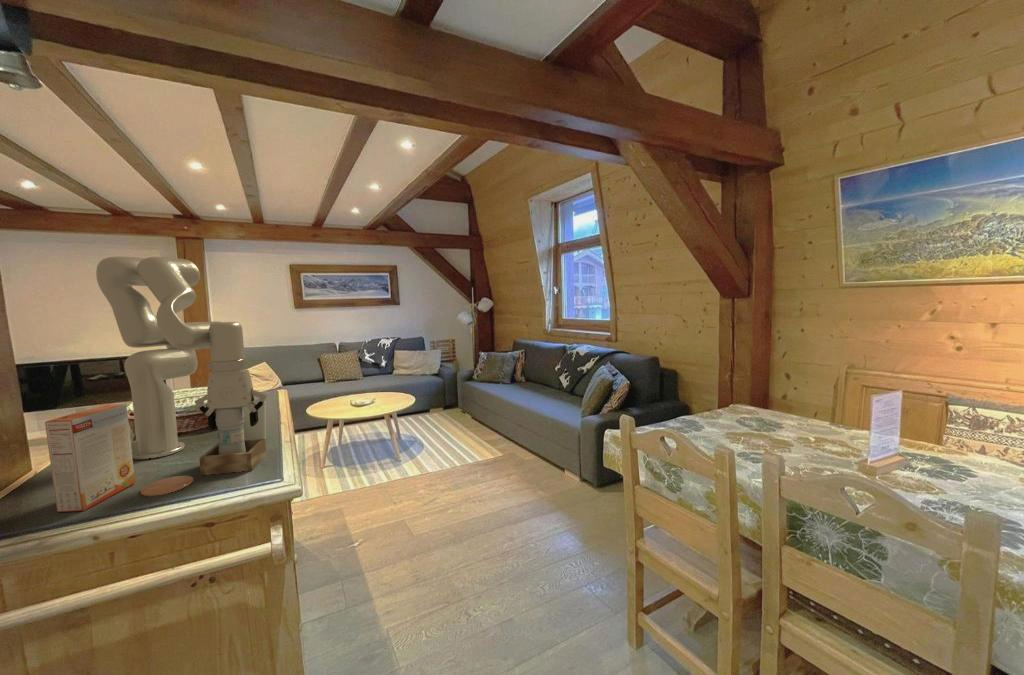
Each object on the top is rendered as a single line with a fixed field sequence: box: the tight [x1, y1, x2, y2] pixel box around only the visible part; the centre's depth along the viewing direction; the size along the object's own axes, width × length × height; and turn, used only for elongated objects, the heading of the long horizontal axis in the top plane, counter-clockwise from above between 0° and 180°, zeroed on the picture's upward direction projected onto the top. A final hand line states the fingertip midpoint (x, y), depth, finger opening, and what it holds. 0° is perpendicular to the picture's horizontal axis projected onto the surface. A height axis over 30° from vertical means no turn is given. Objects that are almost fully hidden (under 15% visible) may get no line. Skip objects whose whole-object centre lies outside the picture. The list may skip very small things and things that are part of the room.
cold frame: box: [199, 439, 267, 476], centre depth 114 cm, size 12×12×5 cm
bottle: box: [215, 407, 246, 455], centre depth 113 cm, size 7×7×20 cm
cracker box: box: [44, 403, 136, 513], centre depth 95 cm, size 14×6×21 cm, turn 5°
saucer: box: [140, 475, 194, 497], centre depth 101 cm, size 10×10×1 cm
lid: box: [242, 398, 267, 441], centre depth 121 cm, size 12×4×17 cm, turn 105°
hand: (234, 426), depth 113 cm, fingers open, 9 cm apart
